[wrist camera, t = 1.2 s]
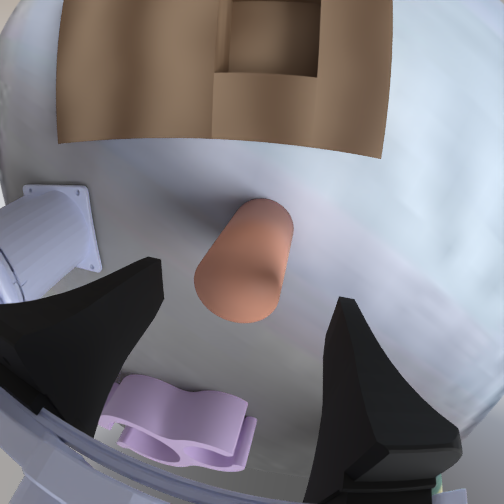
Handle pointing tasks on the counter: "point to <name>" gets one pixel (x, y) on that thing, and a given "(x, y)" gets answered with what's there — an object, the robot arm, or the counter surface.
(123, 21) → the board
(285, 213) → the pin
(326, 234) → the counter surface
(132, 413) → the clip
